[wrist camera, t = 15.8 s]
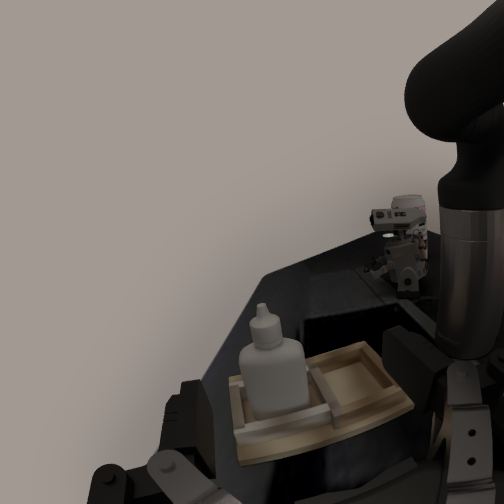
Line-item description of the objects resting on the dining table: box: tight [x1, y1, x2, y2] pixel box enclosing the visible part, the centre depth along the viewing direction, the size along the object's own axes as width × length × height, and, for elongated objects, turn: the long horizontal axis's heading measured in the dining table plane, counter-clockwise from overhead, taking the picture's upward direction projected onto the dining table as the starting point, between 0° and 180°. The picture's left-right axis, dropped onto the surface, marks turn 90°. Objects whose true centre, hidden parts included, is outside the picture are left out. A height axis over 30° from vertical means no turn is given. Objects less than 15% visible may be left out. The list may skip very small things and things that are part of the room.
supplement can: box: [391, 195, 427, 259], centre depth 56 cm, size 8×8×15 cm
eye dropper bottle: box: [239, 303, 310, 420], centre depth 23 cm, size 4×6×12 cm
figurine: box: [364, 207, 428, 299], centre depth 45 cm, size 9×12×15 cm
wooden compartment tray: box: [229, 341, 415, 466], centre depth 26 cm, size 17×13×3 cm
